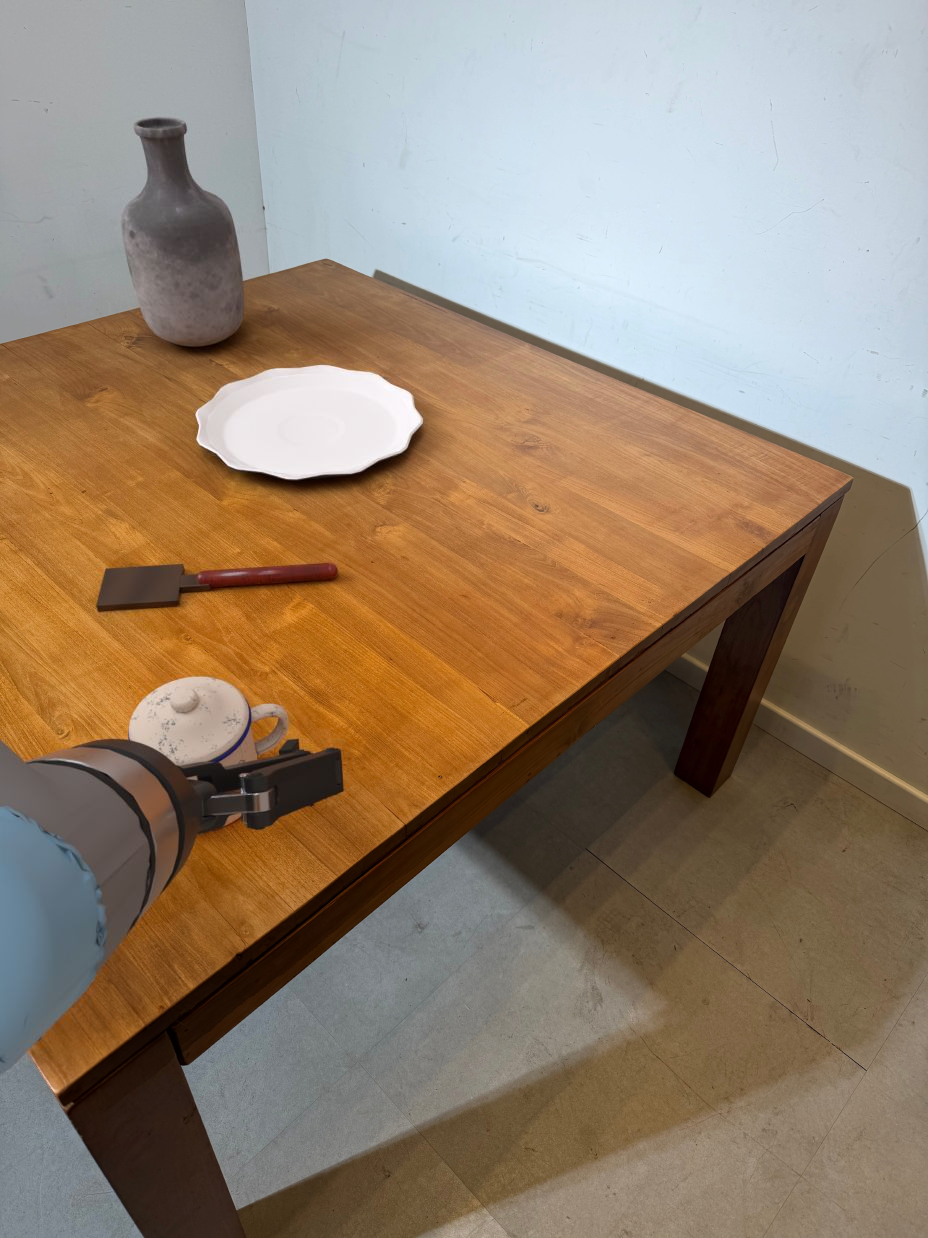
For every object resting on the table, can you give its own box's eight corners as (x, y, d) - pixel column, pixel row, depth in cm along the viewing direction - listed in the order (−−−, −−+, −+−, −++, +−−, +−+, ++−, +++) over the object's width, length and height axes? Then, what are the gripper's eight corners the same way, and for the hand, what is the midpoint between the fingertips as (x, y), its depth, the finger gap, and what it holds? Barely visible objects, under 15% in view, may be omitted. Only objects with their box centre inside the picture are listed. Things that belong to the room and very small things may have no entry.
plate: (465, 437, 113) (465, 421, 111) (285, 522, 97) (283, 505, 95) (330, 361, 128) (329, 346, 126) (156, 425, 112) (152, 408, 110)
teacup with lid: (168, 854, 65) (134, 761, 57) (140, 770, 71) (105, 675, 63) (313, 795, 69) (300, 701, 62) (275, 720, 75) (259, 626, 67)
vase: (193, 310, 139) (155, 103, 119) (271, 331, 134) (245, 119, 114) (123, 345, 129) (68, 125, 108) (206, 370, 124) (165, 144, 103)
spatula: (97, 611, 85) (93, 598, 83) (107, 574, 89) (103, 560, 88) (339, 595, 88) (338, 582, 87) (337, 559, 92) (336, 546, 91)
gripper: (-247, 971, 32) (-8, 846, 53) (399, 897, 35) (383, 807, 56) (-256, 776, 32) (-15, 728, 53) (386, 720, 36) (375, 696, 57)
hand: (190, 768), depth 55 cm, fingers open, 13 cm apart
